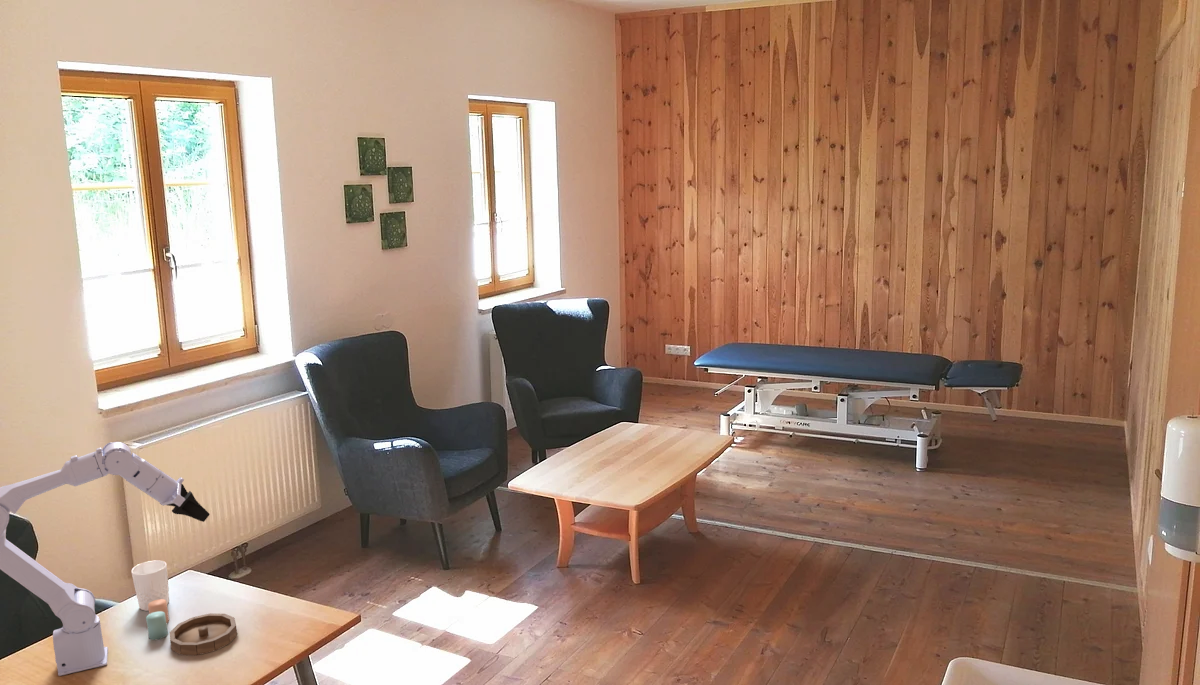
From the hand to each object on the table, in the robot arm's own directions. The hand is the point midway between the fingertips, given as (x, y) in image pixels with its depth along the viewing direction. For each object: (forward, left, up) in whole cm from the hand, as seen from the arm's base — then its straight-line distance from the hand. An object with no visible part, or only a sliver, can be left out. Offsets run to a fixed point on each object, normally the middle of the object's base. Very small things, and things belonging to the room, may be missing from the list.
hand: (202, 514), depth 219 cm
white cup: (-13, +21, -29) cm, 38 cm away
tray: (-3, -3, -29) cm, 29 cm away
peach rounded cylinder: (-12, +10, -29) cm, 33 cm away
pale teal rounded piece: (-13, +4, -29) cm, 32 cm away
